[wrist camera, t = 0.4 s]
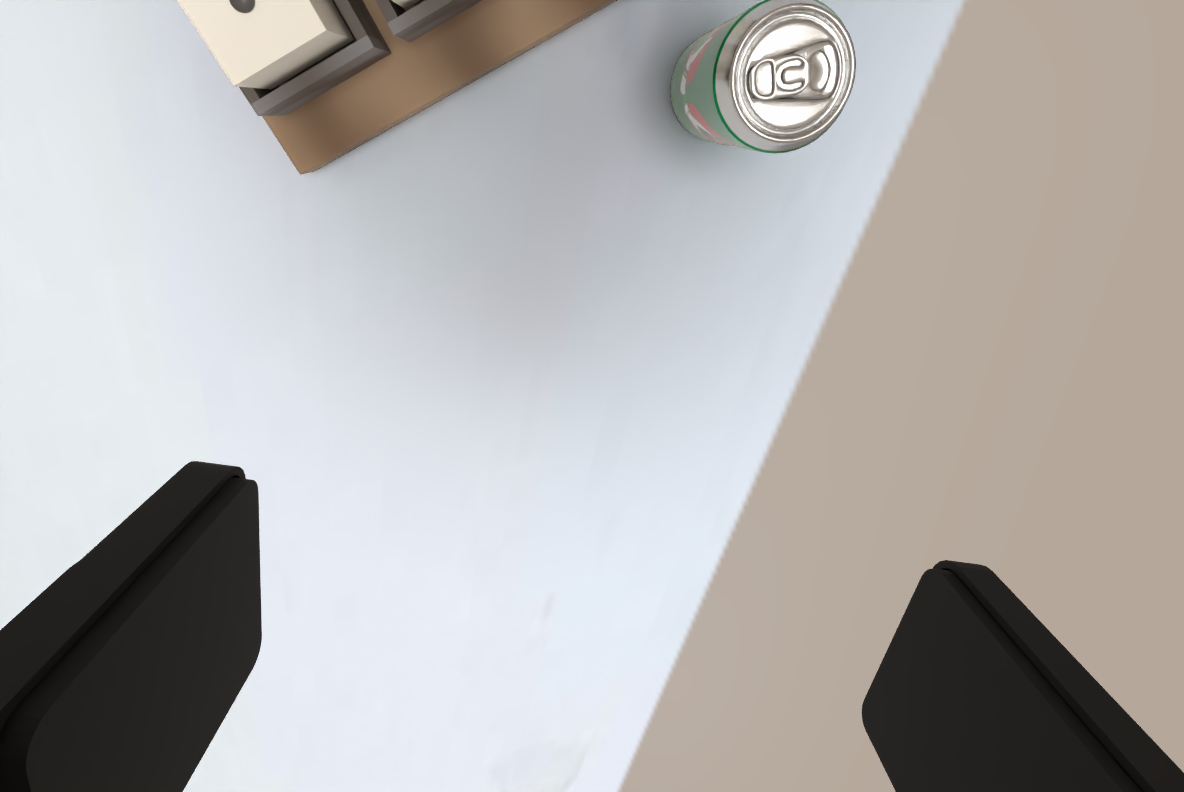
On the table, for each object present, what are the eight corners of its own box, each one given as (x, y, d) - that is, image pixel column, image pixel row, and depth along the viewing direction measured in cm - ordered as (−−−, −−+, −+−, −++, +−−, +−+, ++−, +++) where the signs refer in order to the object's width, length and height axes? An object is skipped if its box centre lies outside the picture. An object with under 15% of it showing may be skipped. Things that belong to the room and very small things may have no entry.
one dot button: (291, -71, 26) (251, -98, 23) (354, 39, 28) (325, 29, 25) (204, -16, 27) (153, -34, 24) (270, 89, 29) (231, 86, 25)
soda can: (769, 133, 34) (866, 142, 23) (673, 149, 34) (724, 165, 23) (765, 23, 32) (869, -24, 21) (663, 41, 32) (713, 2, 21)
